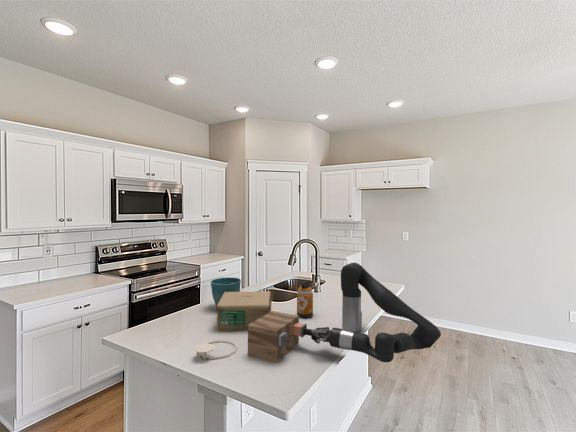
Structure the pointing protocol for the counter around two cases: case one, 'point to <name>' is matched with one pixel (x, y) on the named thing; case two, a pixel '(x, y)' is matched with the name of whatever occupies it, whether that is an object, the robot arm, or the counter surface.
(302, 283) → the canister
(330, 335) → the robot arm
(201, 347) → the hand towel holder
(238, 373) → the counter surface
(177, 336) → the counter surface
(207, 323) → the counter surface
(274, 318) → the socket block
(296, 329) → the brick plug
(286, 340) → the grey plug
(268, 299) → the paper package
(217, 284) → the flower pot
